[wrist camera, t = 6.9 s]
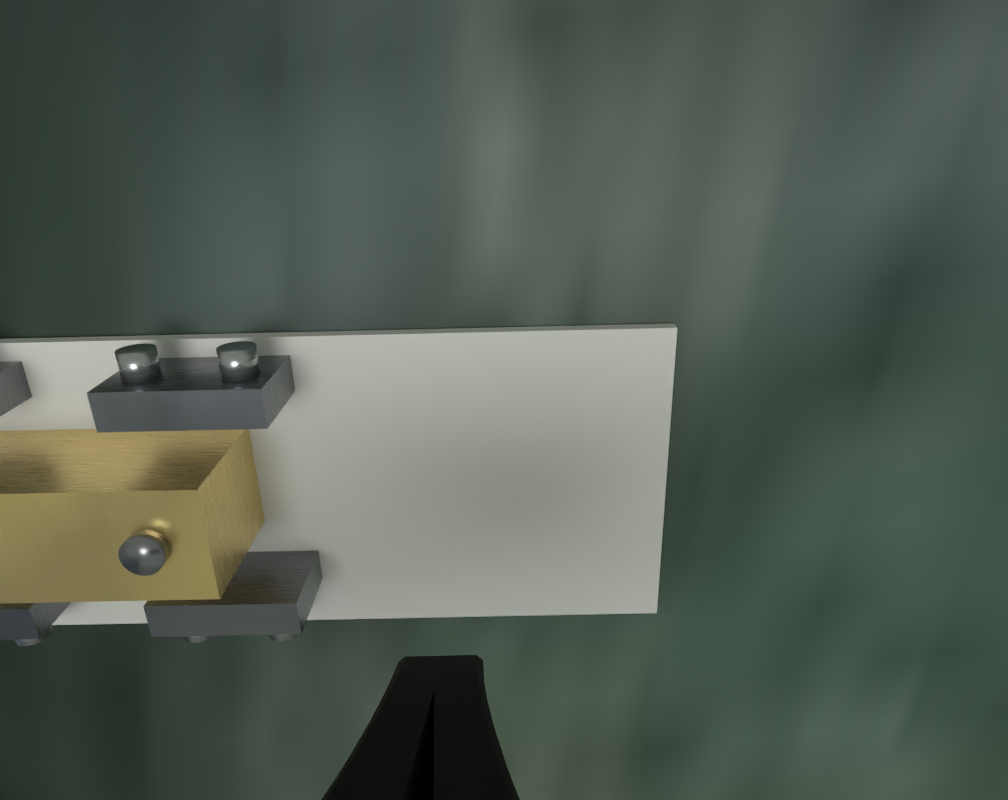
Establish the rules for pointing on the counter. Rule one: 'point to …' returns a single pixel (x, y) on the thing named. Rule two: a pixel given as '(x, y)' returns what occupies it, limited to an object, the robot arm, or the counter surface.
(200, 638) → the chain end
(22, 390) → the chain end
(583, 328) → the mat
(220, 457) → the link
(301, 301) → the counter surface
